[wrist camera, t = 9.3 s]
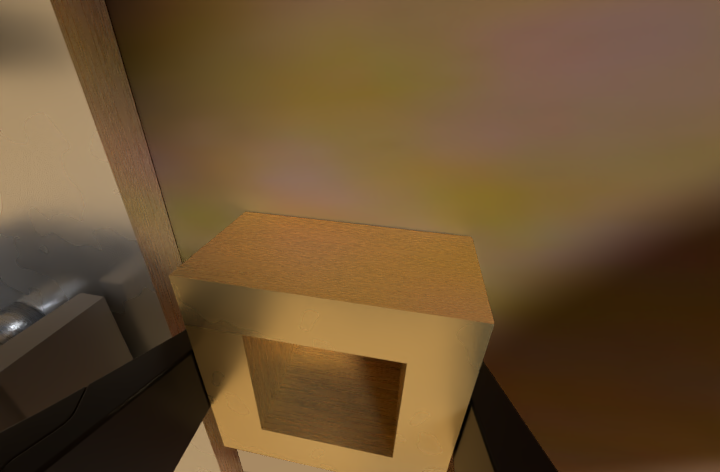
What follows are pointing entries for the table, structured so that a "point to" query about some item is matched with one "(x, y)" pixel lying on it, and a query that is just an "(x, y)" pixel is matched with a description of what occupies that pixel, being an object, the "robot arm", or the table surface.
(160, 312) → the pin plate
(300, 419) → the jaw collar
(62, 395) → the box
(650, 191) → the table surface
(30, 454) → the robot arm
